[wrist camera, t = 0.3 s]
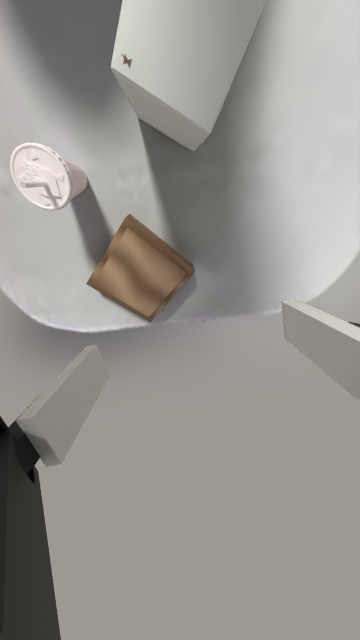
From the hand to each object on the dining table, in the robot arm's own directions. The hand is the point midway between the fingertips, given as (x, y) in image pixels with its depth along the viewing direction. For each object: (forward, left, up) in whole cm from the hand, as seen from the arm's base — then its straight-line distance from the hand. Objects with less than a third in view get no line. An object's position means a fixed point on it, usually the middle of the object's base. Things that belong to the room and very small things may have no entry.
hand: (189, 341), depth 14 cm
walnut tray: (+9, -2, -27) cm, 29 cm away
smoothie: (+3, -18, -28) cm, 33 cm away
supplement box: (-14, -11, -28) cm, 33 cm away
